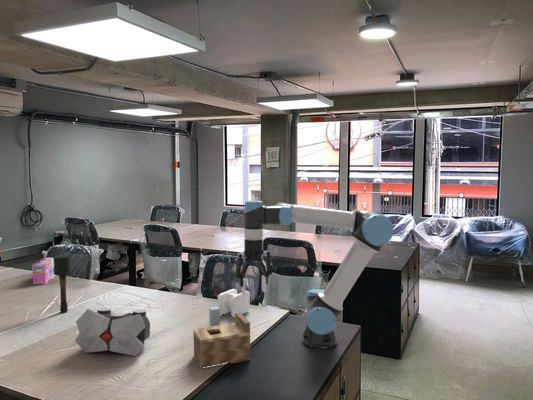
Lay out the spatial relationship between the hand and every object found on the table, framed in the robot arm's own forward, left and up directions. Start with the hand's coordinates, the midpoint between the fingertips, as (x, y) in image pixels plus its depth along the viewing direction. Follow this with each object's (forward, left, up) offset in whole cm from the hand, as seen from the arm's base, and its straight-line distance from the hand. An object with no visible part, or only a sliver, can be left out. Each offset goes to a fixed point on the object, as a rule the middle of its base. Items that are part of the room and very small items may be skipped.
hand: (253, 292), depth 174 cm
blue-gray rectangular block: (+19, +1, -25) cm, 32 cm away
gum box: (+179, -34, -26) cm, 184 cm away
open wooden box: (+9, +11, -25) cm, 29 cm away
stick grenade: (+113, +3, -26) cm, 116 cm away
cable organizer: (+31, -35, -26) cm, 53 cm away
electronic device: (+54, +23, -26) cm, 64 cm away
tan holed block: (+9, +11, -15) cm, 21 cm away
